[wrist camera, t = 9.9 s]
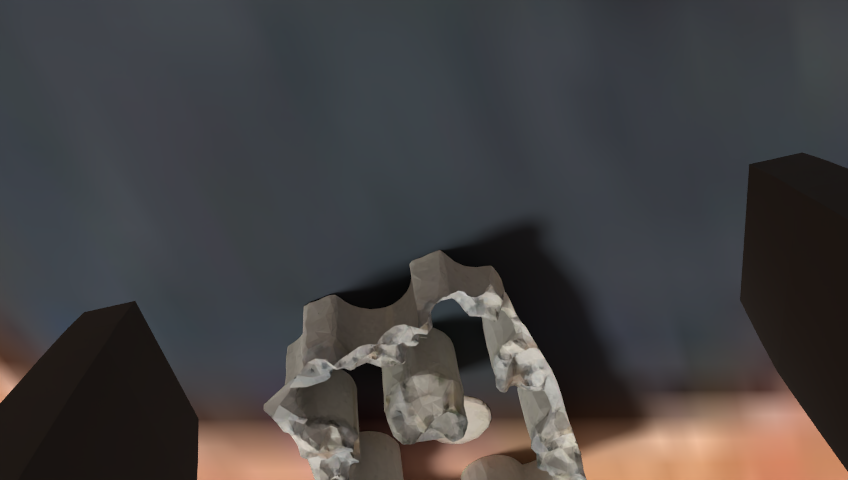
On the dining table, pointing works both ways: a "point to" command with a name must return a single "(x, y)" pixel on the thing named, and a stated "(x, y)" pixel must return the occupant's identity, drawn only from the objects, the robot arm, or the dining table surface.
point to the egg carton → (418, 381)
